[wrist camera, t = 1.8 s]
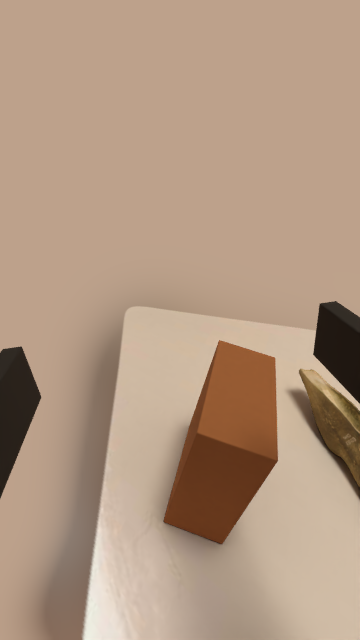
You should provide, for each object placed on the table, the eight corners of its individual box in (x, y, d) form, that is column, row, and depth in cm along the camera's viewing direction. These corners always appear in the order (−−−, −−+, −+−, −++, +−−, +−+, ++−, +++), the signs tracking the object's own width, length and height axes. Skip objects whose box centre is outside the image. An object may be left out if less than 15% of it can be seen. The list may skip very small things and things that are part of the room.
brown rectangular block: (163, 522, 25) (196, 432, 18) (189, 425, 33) (219, 339, 27) (222, 544, 25) (278, 461, 18) (234, 440, 33) (275, 357, 26)
